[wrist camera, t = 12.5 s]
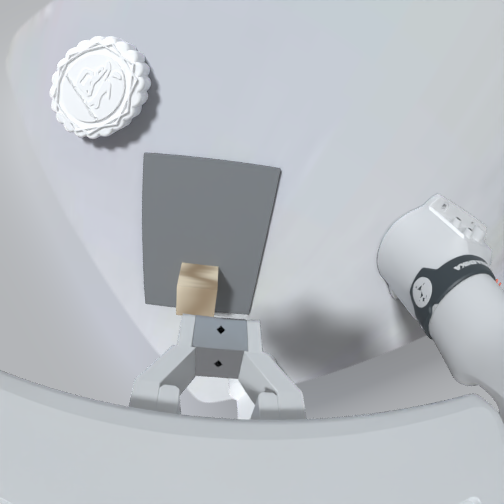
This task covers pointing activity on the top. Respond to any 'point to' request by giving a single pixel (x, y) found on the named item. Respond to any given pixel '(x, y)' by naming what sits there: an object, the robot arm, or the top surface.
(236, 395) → the white cylinder with post
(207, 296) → the maple block
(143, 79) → the white mooncake
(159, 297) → the rubber mat
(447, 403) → the robot arm
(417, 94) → the top surface
